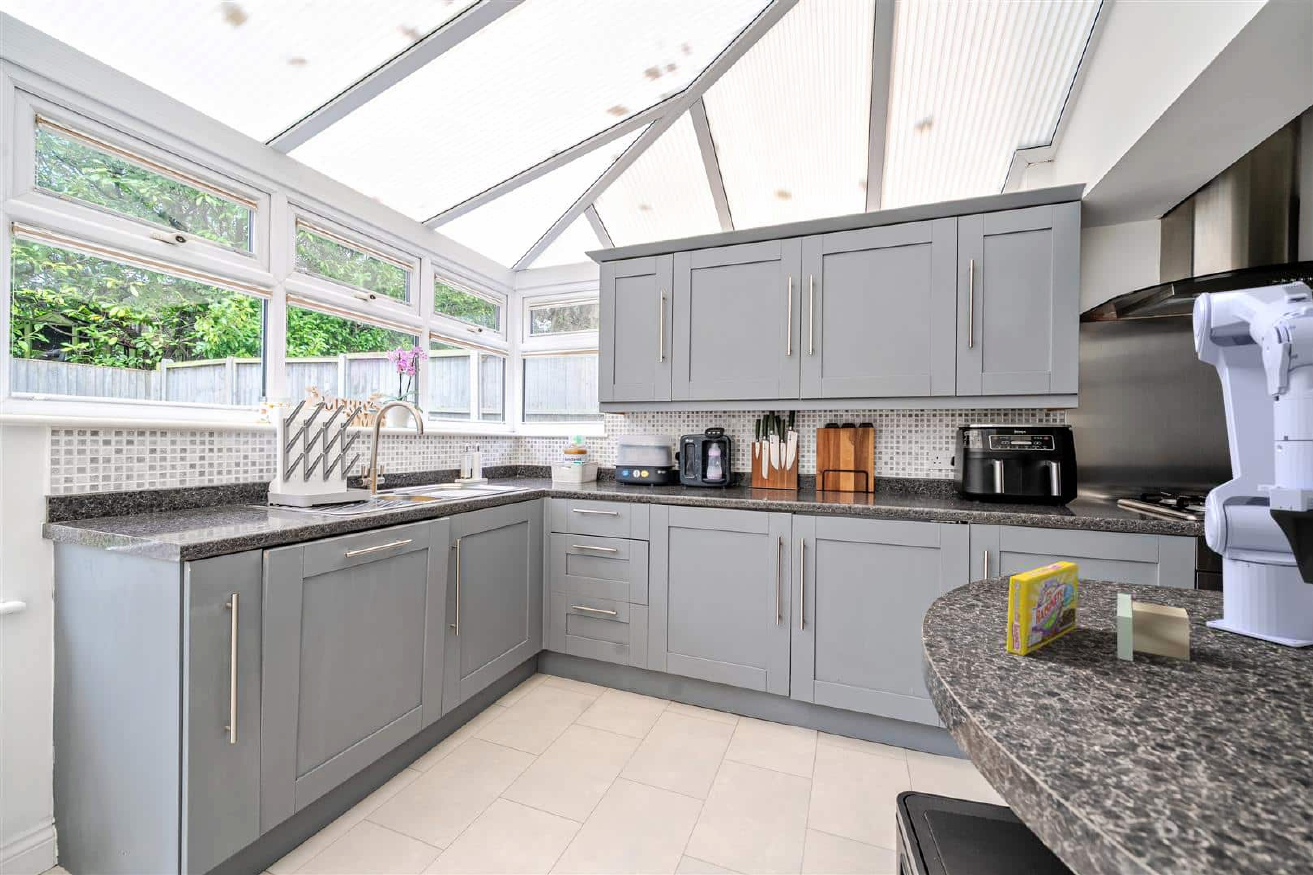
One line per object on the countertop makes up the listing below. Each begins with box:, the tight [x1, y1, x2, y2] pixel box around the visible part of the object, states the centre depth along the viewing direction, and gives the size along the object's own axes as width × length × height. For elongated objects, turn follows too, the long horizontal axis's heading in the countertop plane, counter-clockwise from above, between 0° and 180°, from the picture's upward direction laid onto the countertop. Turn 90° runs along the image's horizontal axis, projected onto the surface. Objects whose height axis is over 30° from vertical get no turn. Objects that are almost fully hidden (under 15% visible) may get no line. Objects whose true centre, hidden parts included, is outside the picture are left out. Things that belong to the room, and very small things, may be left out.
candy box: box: [1006, 560, 1079, 657], centre depth 62 cm, size 16×2×8 cm, turn 126°
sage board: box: [1116, 592, 1134, 662], centre depth 61 cm, size 1×12×4 cm, turn 139°
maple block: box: [1131, 600, 1190, 661], centre depth 59 cm, size 4×4×4 cm
